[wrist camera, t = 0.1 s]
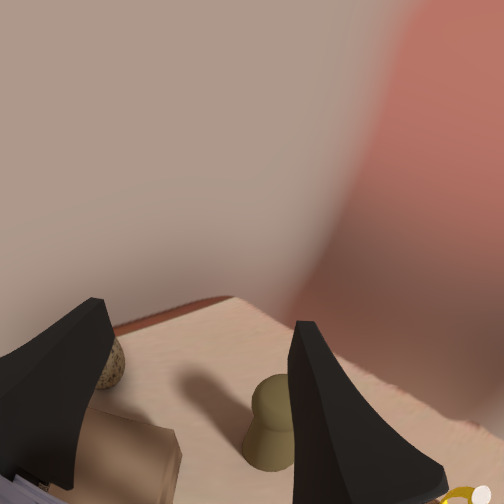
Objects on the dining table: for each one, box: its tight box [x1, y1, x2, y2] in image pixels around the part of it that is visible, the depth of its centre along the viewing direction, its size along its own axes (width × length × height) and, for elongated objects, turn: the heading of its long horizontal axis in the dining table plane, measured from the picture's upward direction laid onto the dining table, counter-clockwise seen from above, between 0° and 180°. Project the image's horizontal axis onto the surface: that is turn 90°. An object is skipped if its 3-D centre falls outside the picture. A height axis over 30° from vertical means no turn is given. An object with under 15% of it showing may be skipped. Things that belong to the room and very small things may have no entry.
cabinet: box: [47, 407, 182, 504], centre depth 14 cm, size 16×9×6 cm, turn 177°
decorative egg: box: [95, 337, 125, 389], centre depth 28 cm, size 7×7×10 cm
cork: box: [242, 374, 294, 472], centre depth 22 cm, size 6×6×11 cm
